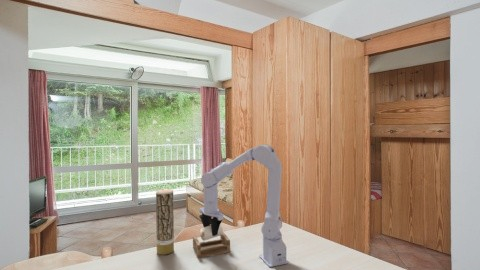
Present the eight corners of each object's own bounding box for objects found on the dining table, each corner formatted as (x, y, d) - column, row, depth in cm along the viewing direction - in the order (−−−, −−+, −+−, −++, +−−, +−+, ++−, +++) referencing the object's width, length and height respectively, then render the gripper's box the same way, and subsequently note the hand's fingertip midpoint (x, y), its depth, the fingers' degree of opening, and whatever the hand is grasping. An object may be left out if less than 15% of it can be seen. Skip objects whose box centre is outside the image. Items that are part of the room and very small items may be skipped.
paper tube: (169, 256, 103) (168, 193, 103) (153, 254, 104) (152, 192, 104) (176, 248, 110) (176, 189, 110) (161, 247, 111) (161, 189, 111)
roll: (222, 237, 110) (223, 225, 109) (205, 242, 104) (206, 230, 104) (215, 232, 113) (216, 221, 113) (199, 237, 108) (199, 226, 107)
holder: (230, 252, 106) (230, 240, 106) (197, 258, 101) (197, 245, 101) (223, 242, 115) (223, 231, 115) (192, 247, 111) (192, 236, 111)
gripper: (229, 202, 105) (229, 235, 105) (208, 196, 116) (209, 226, 116) (214, 205, 101) (215, 240, 101) (195, 198, 112) (195, 230, 112)
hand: (210, 233), depth 108 cm, fingers closed on roll, 5 cm apart
